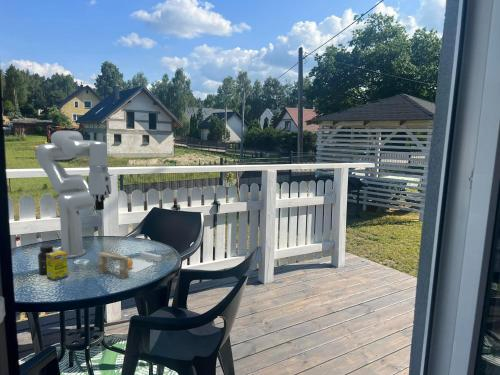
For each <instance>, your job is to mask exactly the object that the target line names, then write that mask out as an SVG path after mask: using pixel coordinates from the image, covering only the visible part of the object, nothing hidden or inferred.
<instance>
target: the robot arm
mask: <svg viewBox="0 0 500 375" xmlns="http://www.w3.org/2000/svg"><path fill="white" fill-rule="evenodd" d="M35 152H36V153H35V154H36V159H37V162H38V164H39V166H40V167H41V168H42V170H43V171H44V172H45V174H46V175H47V178H48V180H49V181H50V184H51V187H52V188H53V190H54V192H55V193H56V194H58V195H59V196H57V200H56V204H57V208H58V211H59V220H60V222H59V223H60V224H59V225H60V240H61V242H60V243H61V245H60V246H58V247H56V246H55V247H54V246H53V250H52V251H54V252H55V251H58V250H60V251H63V252H66V253H67V259H72V258H78V257H83V256H84V255H86V254H87V251H86V249H84V248H83V227H82V226H83V225H82V217H81V216H80V215H79V214H78V213H77V212H80V211H84V210H89V209H90V210H91V209H92V208H94V207H95V211H103V210H104V209H105V203H104V202H105V200H106V199H108V198H110V195H111V194H112V183H111V181H112V180H111V176H110V172H108V170H109V168H108V167H109V166H108V144H107V142H106V141H99V140H84V137H83V134H82V133H81V132H79V131H78V130H57V131H55V132H53V133H52V134H51V135H50V143H42V144H40V145H38V146H37V148H36V150H35ZM73 158H88V160H89V161H88V165H89V172H88V178H87V179H88V181H87V179H86V177H84V176H83V174H68V173H67V171H66V169H65V168H64V166H62V164H60V163H59V162H57V161H58V160H59V161H61V160H71V159H73ZM56 160H57V161H56Z"/></svg>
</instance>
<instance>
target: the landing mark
mask: <svg viewBox="0 0 500 375" xmlns="http://www.w3.org/2000/svg"><path fill="white" fill-rule="evenodd" d="M132 261H133V265H132V267H131V268H130V269H128V272H130V273H134V274H136V273H139V272H141V271H143V270H146V269H147V268H149V267H152V266H154V265H155V263H154V262H148V261H144V260H141V259H136V258H134V259H132ZM113 268H114V269H118V270H120V266H119V264H118V265H115V266H114V267H113Z"/></svg>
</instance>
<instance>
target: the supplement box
mask: <svg viewBox="0 0 500 375" xmlns="http://www.w3.org/2000/svg"><path fill="white" fill-rule="evenodd" d="M46 262H47V275H46V278H47V279H49V280H52V281H54V282H57V281H58V280H62V279H65V278H68V276H69V275H68V274H69V273H68V258H67V253H66V252H63V251H60V250H58V251H55V252H51V253H46Z"/></svg>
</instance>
